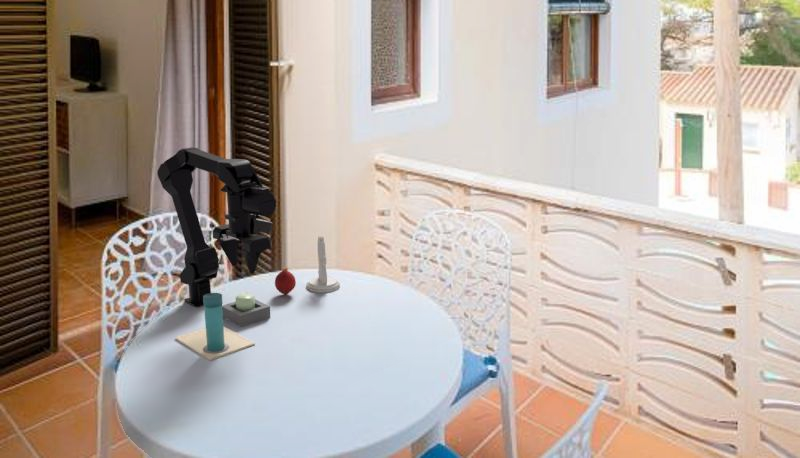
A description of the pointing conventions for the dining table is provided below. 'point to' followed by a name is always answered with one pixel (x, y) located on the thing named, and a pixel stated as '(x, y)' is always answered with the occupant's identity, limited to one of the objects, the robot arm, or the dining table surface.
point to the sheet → (199, 343)
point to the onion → (285, 281)
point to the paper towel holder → (322, 273)
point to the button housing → (246, 313)
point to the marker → (214, 321)
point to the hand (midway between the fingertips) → (243, 269)
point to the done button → (245, 302)
